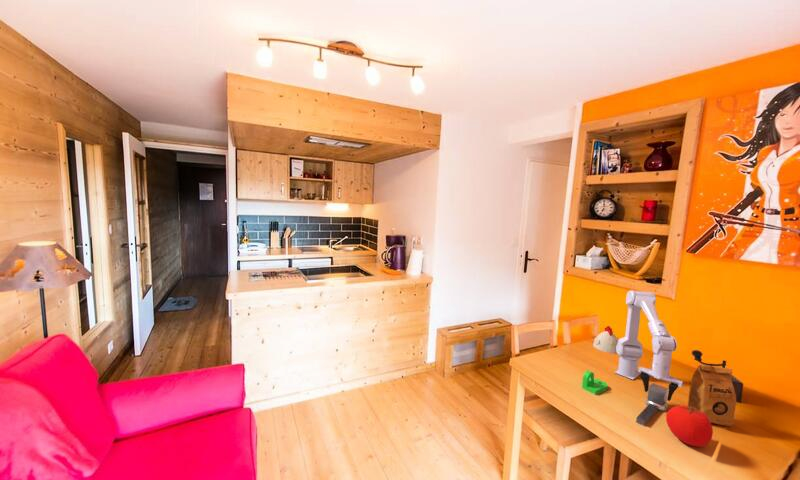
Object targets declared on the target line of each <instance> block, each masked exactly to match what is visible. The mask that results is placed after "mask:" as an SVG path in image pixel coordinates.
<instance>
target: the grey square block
mask: <svg viewBox="0 0 800 480" xmlns="http://www.w3.org/2000/svg"><path fill="white" fill-rule="evenodd" d="M668 393H669V387H668V388H667V387H665V386H663V385H659V384H656V383H653V382H652V383H651V384H649V389H648V391H647V397H648V399H647V400H648V401H651V402H653V403H656V404H658V405H661V406H663V405H664V404H665V403H667V401H668V400H667V398H668Z"/></svg>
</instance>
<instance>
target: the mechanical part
mask: <svg viewBox="0 0 800 480" xmlns="http://www.w3.org/2000/svg"><path fill="white" fill-rule="evenodd" d="M581 383H582V384H581V389H583V390H585V391H586V392H589V393H591V394H593V395H595V396H596V395H598V394H601V393H602V392H605V391H606V390H608V385H609V384H608V383H607V382H605V381H603V380H601V379H598V378H595V373H594V372H592V371H590V370H588V369H587V370H586V371H585V372H584V373H583V375H582V382H581Z"/></svg>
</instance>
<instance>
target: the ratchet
mask: <svg viewBox="0 0 800 480" xmlns="http://www.w3.org/2000/svg"><path fill="white" fill-rule="evenodd" d="M647 399H648V396H646V398H645V405H646V407H645V408H644V409H643V410H642V411H641V412H640V413H639V414H638V415H637V416H636V420H635V423H638V424H639V425H641V426H646V425H647V423H648V422H649V421H650V420H651V419H652V417H654V416H655V414H657V412H663V413H665V412H668V403H667V402H666V403H665V404H664V405H663V406H661V405H658V404H656V403H653V402H651V401H648V400H647Z"/></svg>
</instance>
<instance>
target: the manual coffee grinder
mask: <svg viewBox="0 0 800 480" xmlns="http://www.w3.org/2000/svg"><path fill="white" fill-rule="evenodd" d="M691 355H692V356H693V357H694V360H695V361H697V362H698V363H699V364H700V365H707V366H715V367H722V368H726V366H727V360H722V363H707V362H704V361H703V359H702V356H703V352H702V351H700V350H699V349H693V350H692V351H691ZM730 376H731V379H732V384H733V386H734V390H735V394H736V403H740V404H742V397H743V389H744V383H743V382H742V381H740V380H739V379H738V377H736V376H734V375H733V373H732V374H730Z"/></svg>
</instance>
